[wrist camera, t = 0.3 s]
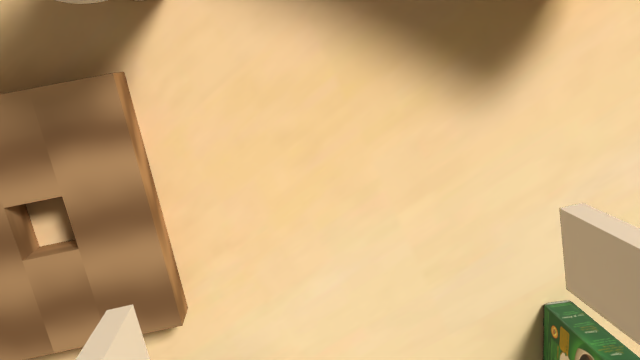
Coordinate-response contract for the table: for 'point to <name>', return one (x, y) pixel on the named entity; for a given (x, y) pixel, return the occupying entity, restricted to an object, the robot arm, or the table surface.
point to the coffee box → (578, 336)
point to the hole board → (79, 219)
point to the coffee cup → (83, 1)
